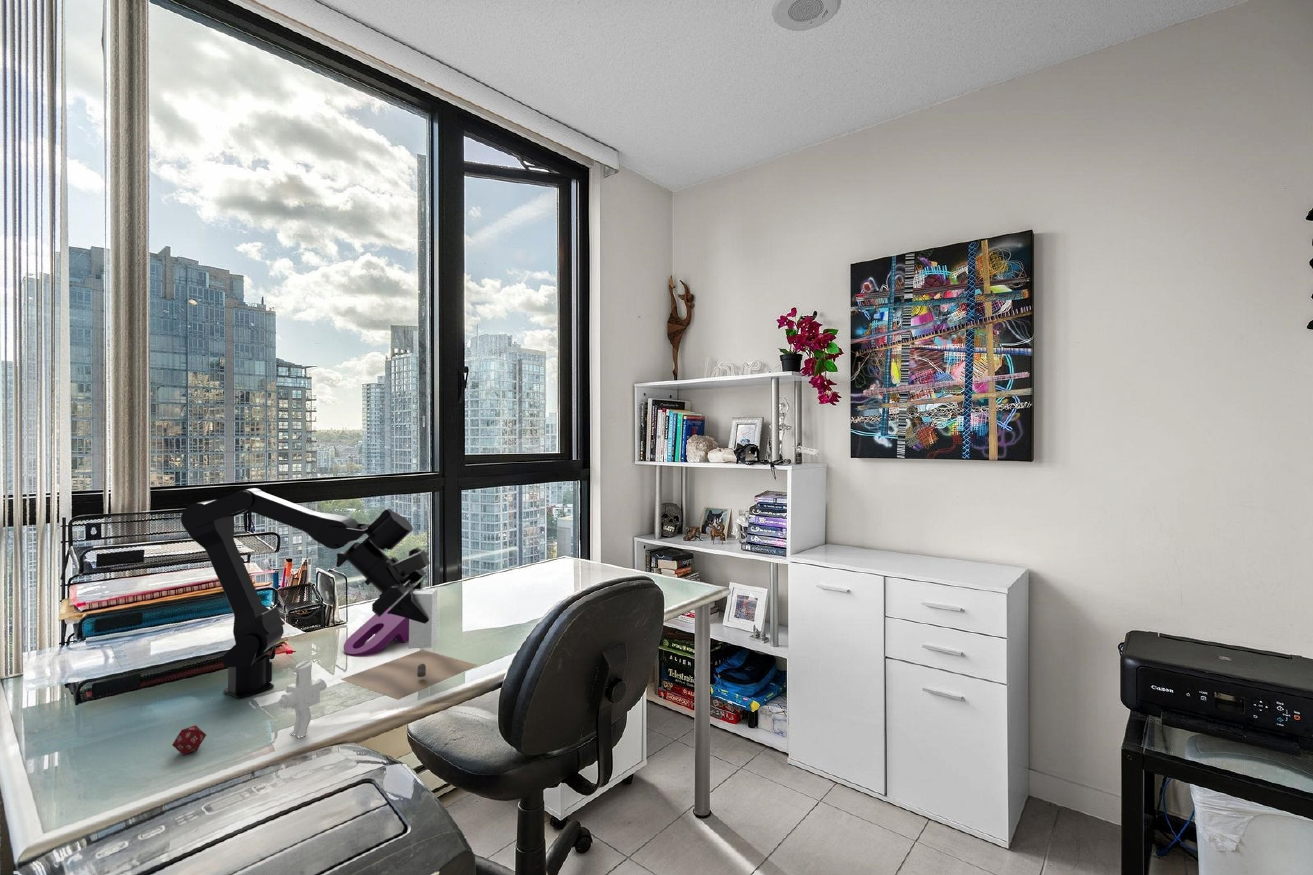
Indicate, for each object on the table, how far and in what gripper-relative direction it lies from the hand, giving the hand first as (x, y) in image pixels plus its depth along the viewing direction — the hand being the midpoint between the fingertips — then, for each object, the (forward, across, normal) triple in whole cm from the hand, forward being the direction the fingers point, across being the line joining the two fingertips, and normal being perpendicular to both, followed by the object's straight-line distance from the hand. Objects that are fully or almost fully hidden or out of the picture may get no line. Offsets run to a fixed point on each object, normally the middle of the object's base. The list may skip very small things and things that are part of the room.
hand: (430, 618), depth 123 cm
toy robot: (-2, -19, +21) cm, 29 cm away
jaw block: (+3, 0, +5) cm, 6 cm away
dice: (-12, -24, +32) cm, 42 cm away
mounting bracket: (-1, +22, +21) cm, 31 cm away
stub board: (+6, +3, +13) cm, 15 cm away
